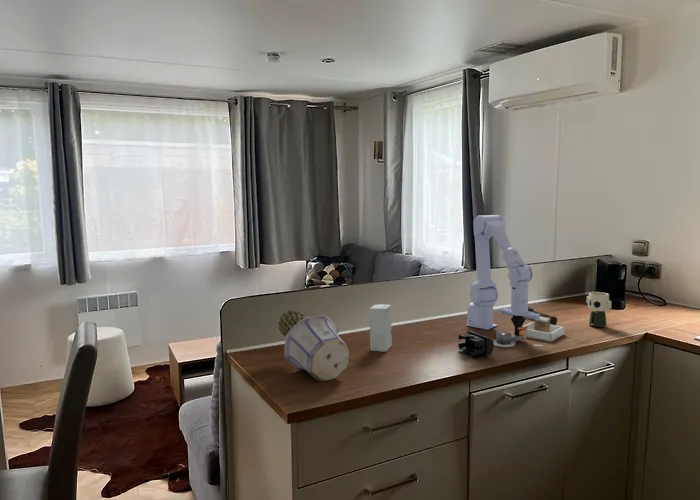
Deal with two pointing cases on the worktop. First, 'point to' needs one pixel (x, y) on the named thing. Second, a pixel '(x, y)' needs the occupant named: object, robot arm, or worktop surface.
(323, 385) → the worktop surface
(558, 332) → the tray
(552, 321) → the hand tool
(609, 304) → the character mug
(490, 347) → the end cap
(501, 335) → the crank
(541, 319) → the block
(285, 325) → the potted plant
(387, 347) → the skincare box
